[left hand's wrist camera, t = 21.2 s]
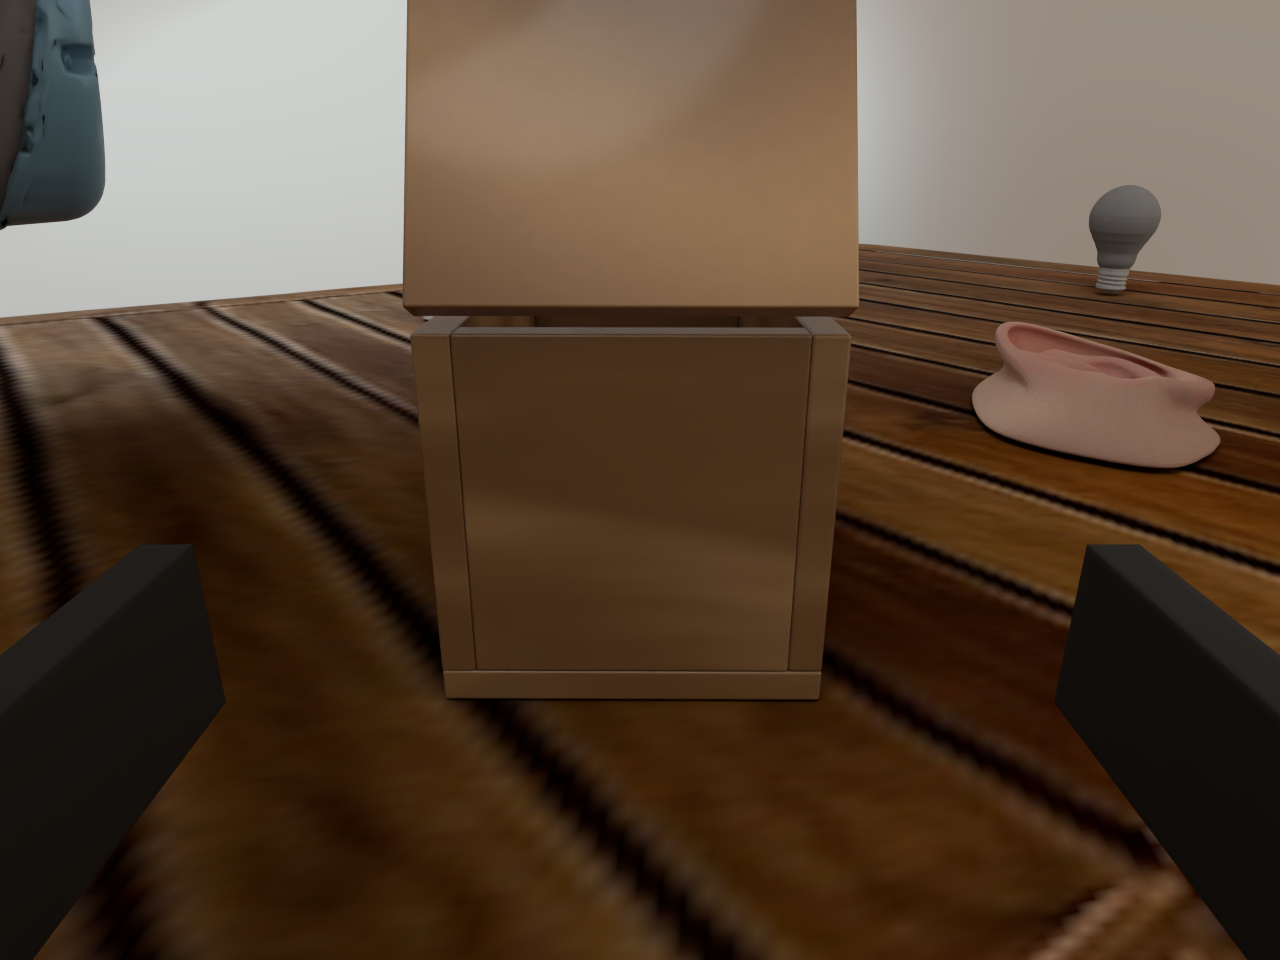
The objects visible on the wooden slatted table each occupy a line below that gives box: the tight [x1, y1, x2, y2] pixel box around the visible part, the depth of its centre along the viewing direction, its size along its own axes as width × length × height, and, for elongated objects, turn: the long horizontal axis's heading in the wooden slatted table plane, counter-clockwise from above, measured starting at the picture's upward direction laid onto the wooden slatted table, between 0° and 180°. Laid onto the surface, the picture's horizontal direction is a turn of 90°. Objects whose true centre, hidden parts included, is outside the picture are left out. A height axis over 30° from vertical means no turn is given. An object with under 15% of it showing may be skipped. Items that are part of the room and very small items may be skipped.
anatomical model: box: [972, 322, 1220, 468], centre depth 44 cm, size 13×4×12 cm
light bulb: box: [1089, 185, 1161, 293], centre depth 82 cm, size 6×6×10 cm
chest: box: [410, 316, 851, 700], centre depth 28 cm, size 16×10×10 cm, turn 0°
